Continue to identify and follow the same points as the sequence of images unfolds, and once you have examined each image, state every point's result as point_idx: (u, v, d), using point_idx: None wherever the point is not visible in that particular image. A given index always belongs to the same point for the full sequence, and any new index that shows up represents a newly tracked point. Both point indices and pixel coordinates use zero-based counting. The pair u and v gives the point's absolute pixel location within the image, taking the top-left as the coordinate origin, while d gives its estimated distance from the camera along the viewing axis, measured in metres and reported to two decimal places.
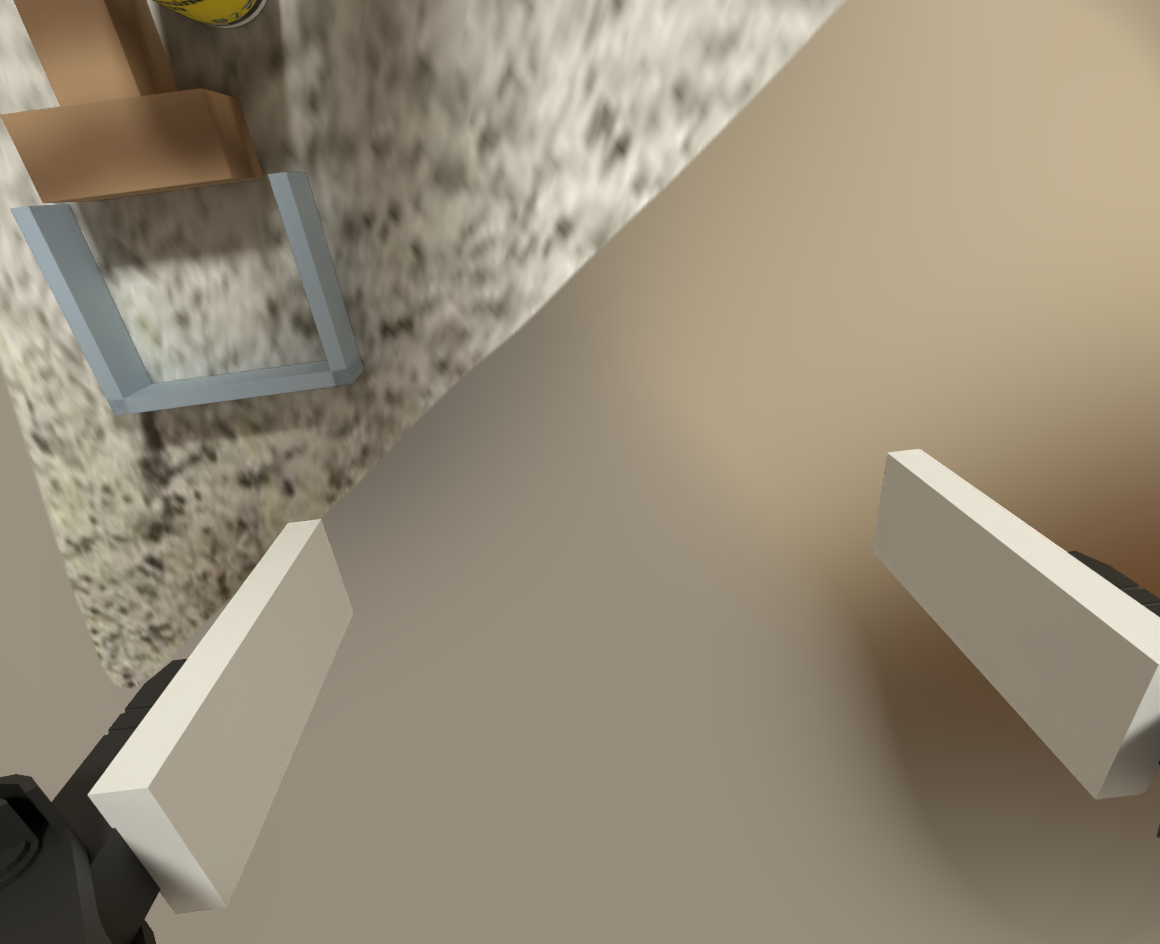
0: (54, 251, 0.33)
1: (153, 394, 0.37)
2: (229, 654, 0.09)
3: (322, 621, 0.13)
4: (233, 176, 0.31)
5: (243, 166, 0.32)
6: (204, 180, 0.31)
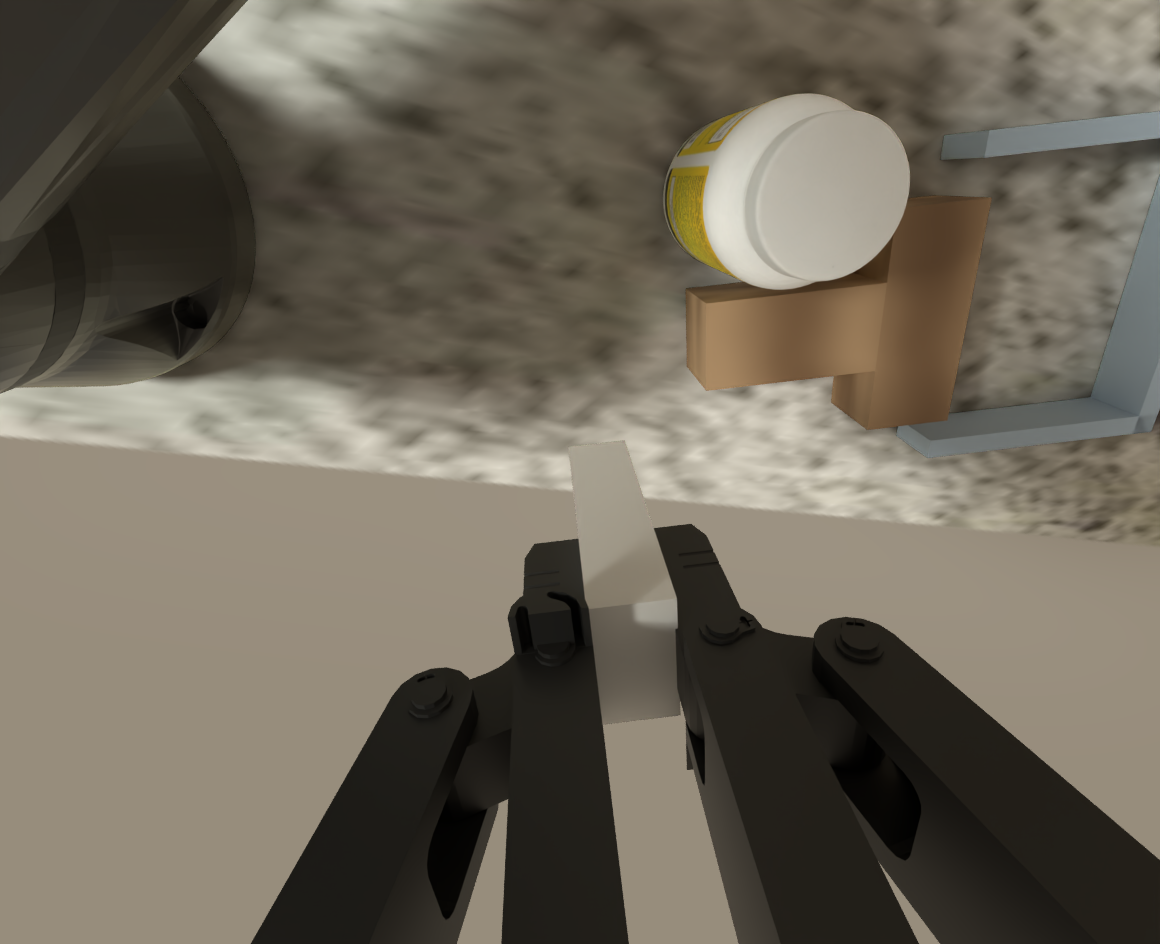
0: (971, 433, 0.31)
1: (1147, 382, 0.30)
2: (610, 529, 0.12)
3: None
4: (986, 197, 0.24)
5: (951, 197, 0.26)
6: (982, 235, 0.25)
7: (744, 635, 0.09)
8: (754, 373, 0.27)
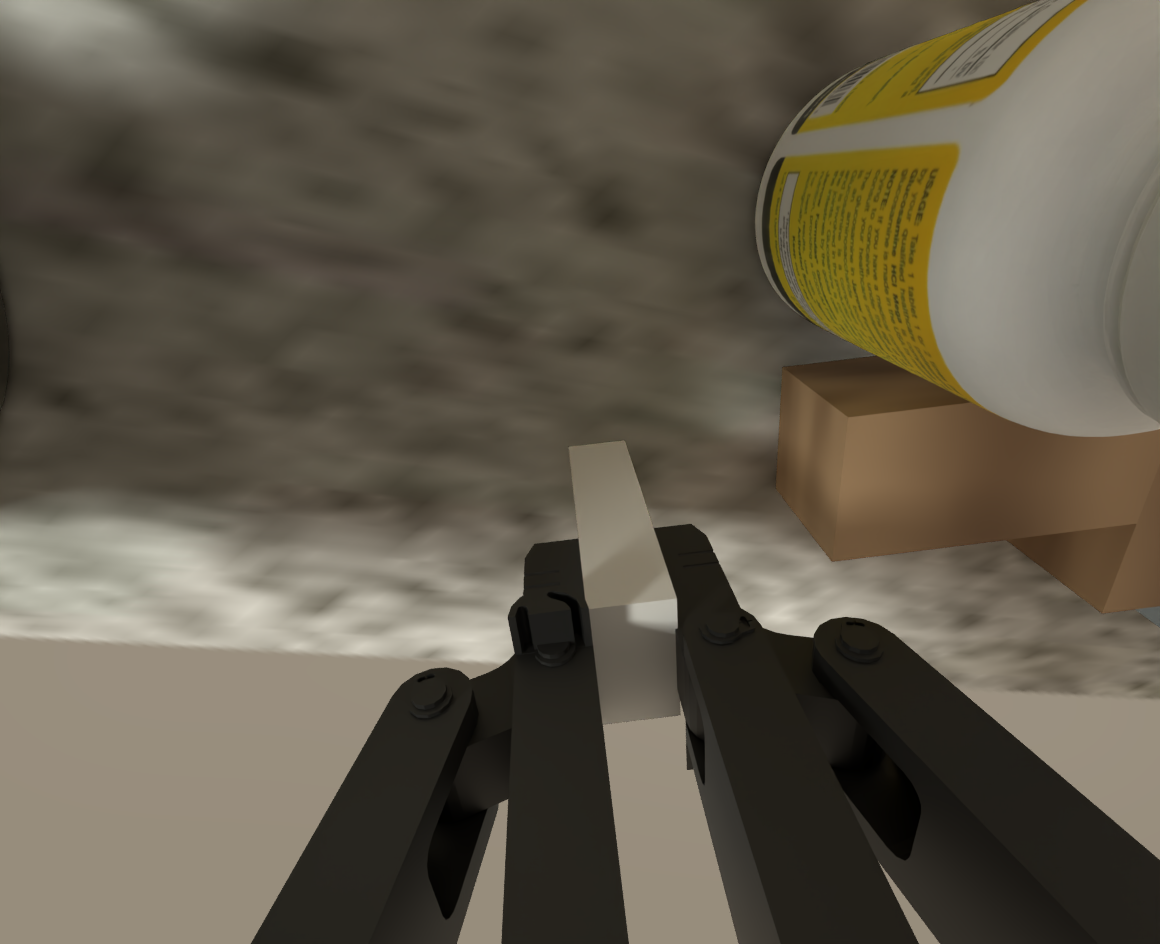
0: None
1: None
2: (610, 529, 0.12)
3: None
4: None
5: None
6: None
7: (744, 635, 0.09)
8: (923, 531, 0.15)
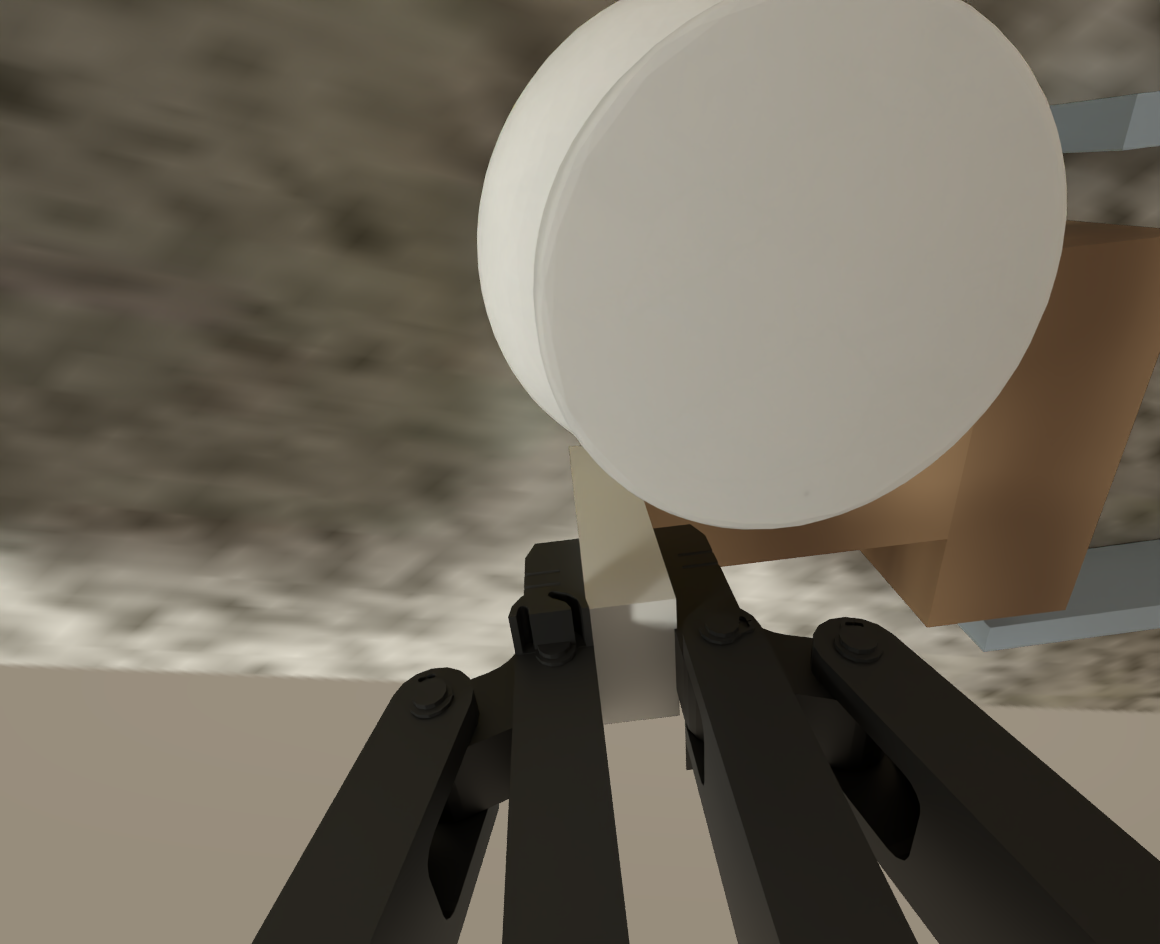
0: (1057, 612, 0.18)
1: None
2: (610, 529, 0.12)
3: None
4: None
5: (1101, 227, 0.14)
6: None
7: (743, 635, 0.09)
8: (729, 547, 0.15)
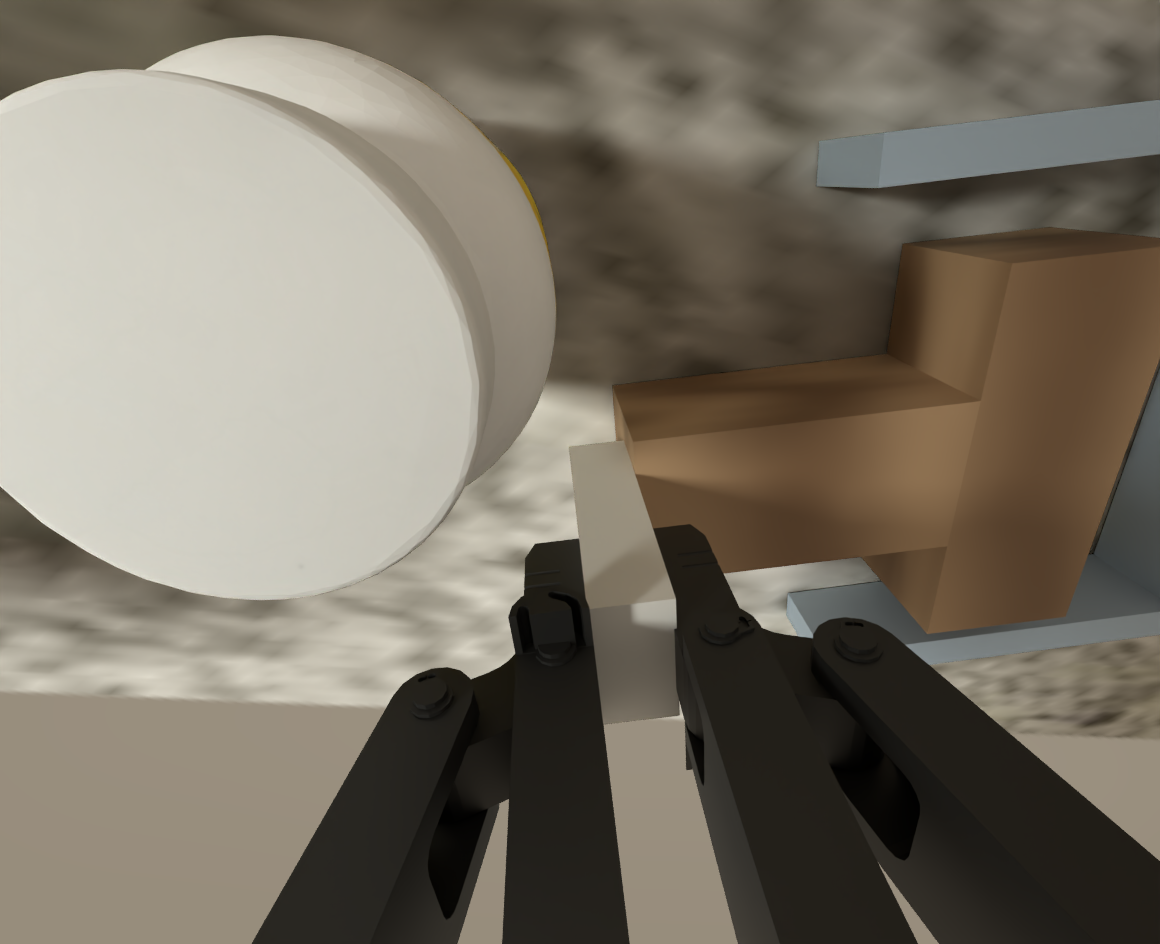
0: None
1: None
2: (610, 529, 0.12)
3: None
4: None
5: (1100, 237, 0.14)
6: None
7: (743, 635, 0.09)
8: (729, 554, 0.15)
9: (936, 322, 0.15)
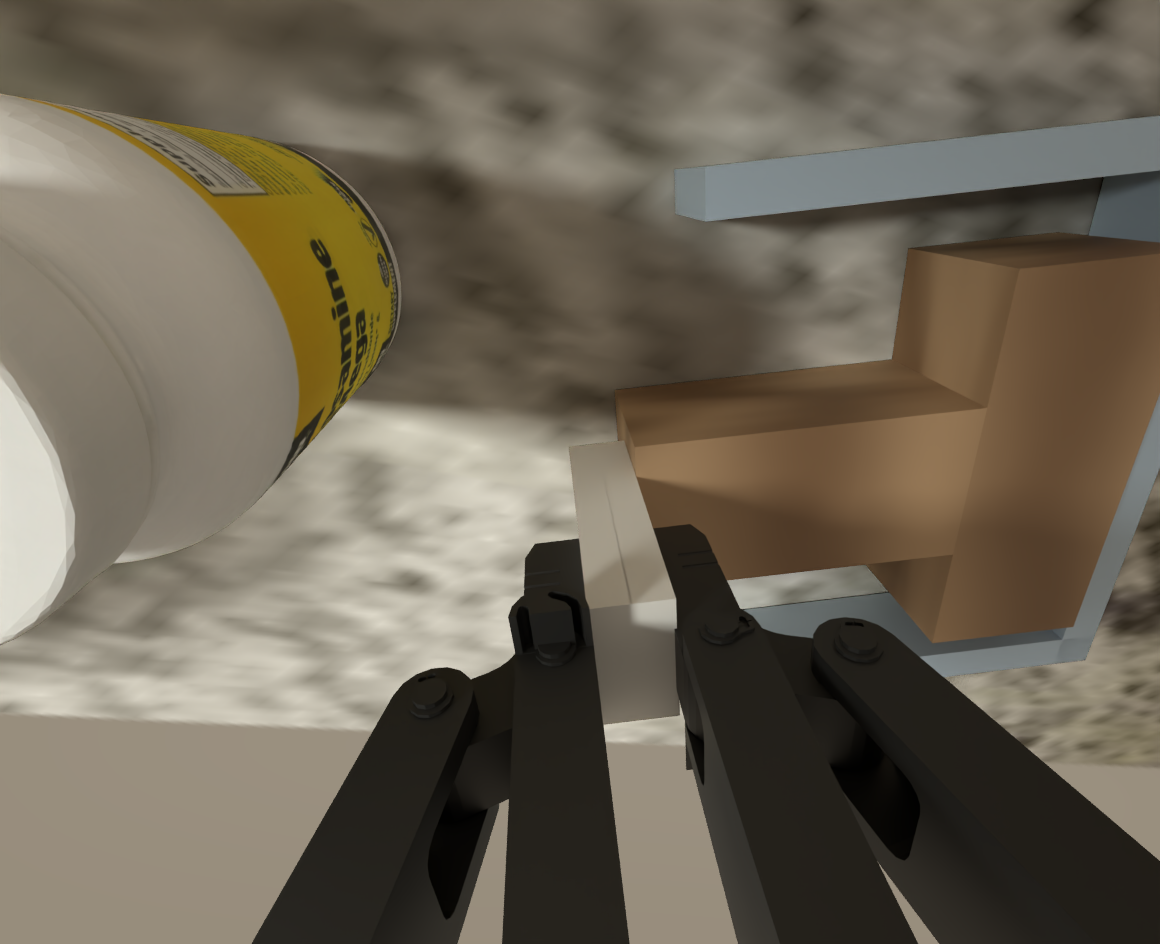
0: None
1: None
2: (610, 529, 0.12)
3: None
4: None
5: (1109, 242, 0.13)
6: None
7: (743, 635, 0.09)
8: (732, 561, 0.15)
9: (942, 328, 0.14)
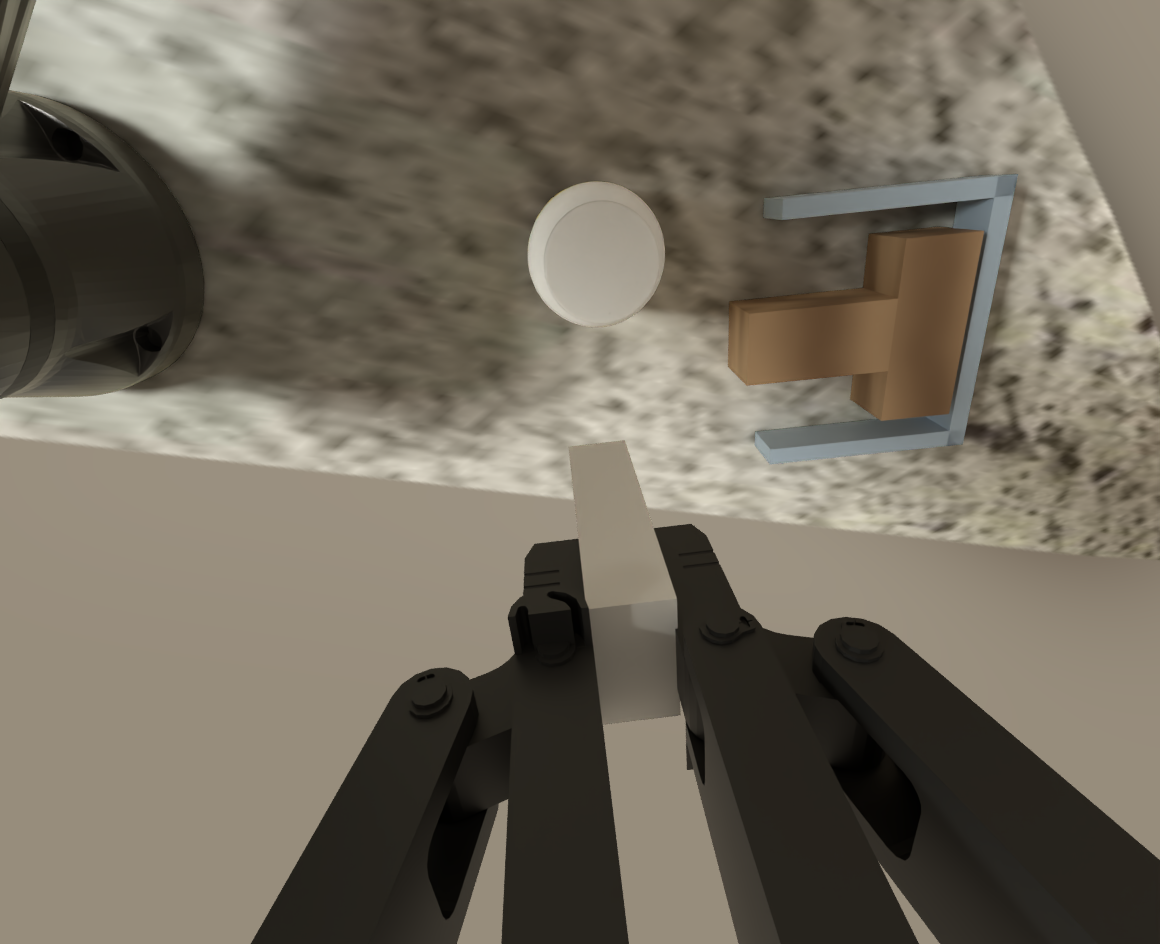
0: (806, 444, 0.36)
1: (953, 402, 0.35)
2: (610, 529, 0.12)
3: None
4: (980, 230, 0.30)
5: (951, 229, 0.32)
6: (977, 260, 0.31)
7: (744, 635, 0.09)
8: (787, 371, 0.33)
9: (882, 267, 0.33)
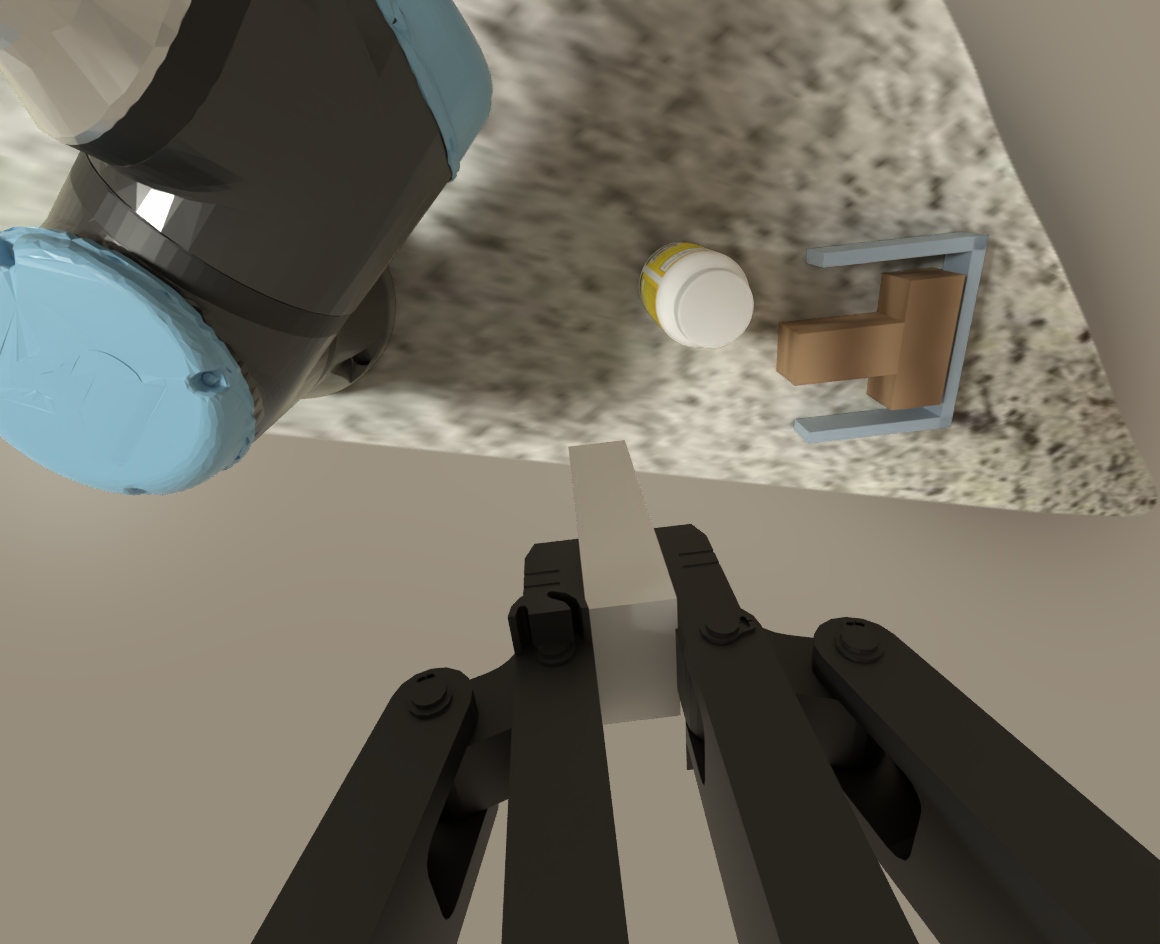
0: (835, 428, 0.48)
1: (943, 396, 0.48)
2: (610, 529, 0.12)
3: None
4: (962, 274, 0.43)
5: (942, 272, 0.44)
6: (960, 295, 0.43)
7: (744, 635, 0.09)
8: (824, 375, 0.45)
9: (892, 299, 0.45)
